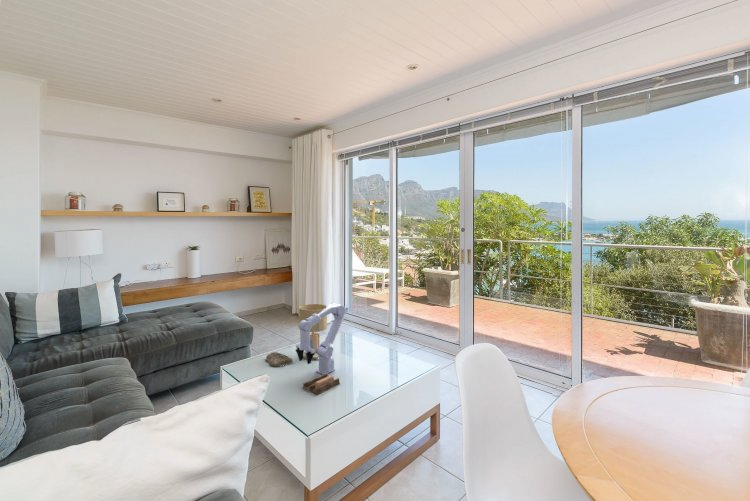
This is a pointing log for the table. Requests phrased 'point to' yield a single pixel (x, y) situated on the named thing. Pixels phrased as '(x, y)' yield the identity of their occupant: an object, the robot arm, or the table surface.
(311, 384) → the walnut rack
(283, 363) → the brown rock
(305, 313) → the desk lamp
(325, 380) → the light brown long block
